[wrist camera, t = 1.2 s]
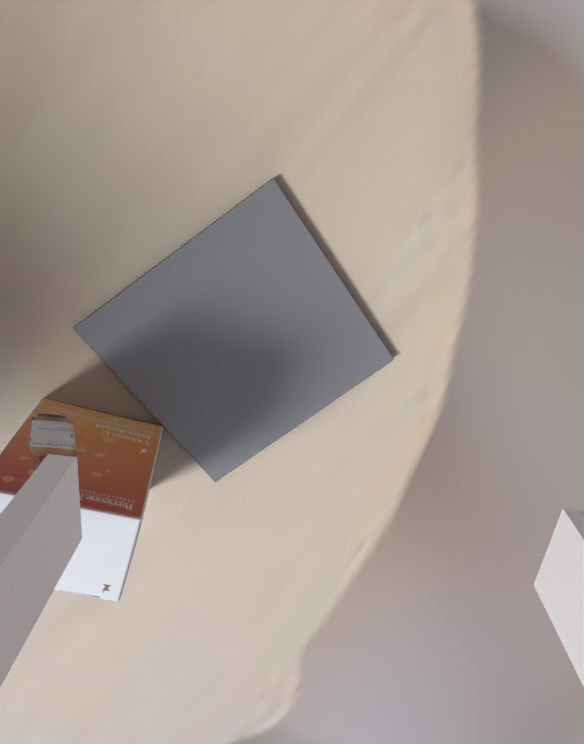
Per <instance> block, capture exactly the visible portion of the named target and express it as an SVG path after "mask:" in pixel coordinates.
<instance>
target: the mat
mask: <svg viewBox="0 0 584 744" xmlns="http://www.w3.org/2000/svg"><path fill="white" fill-rule="evenodd" d="M73 329H74V330H75V331H76V332H77V333H78V334H79V335H80V336H81V337H82V338H83V339H84V341H85V342H86V343H87V344H88V345H89V346H90V347H91V348H92V349H93V350H94V351H95V352H96V354H97V355H98V356H99V357H100V358H101V359H102V360H103V361H104V362H105V363H106V364H107V365H108V367H109V368H110V369H111V370H112V371H113V372H114V373H115V374H116V375H117V376H118V377H119V378H120V380H121V381H122V382H123V383H124V384H125V385H126V386H127V387H128V388H129V389H130V390H131V391H132V393H133V394H134V395H135V396H136V397H137V398H138V399H139V400H140V401H141V402H142V403H143V404H144V406H145V407H146V408H147V409H148V410H149V411H150V412H151V413H152V414H153V415H154V416H155V417H156V419H157V420H158V421H159V422H160V423H161V424H162V425H163V426H164V427H165V428H166V429H167V430H168V432H169V433H170V434H171V435H172V436H173V437H174V438H175V439H176V440H177V441H178V442H179V443H180V445H181V446H182V447H183V448H184V449H185V450H186V451H187V452H188V453H189V454H190V455H191V456H192V458H193V459H194V460H195V461H196V462H197V463H198V464H199V465H200V466H201V467H202V468H203V469H204V471H205V472H206V473H207V474H208V475H209V476H210V477H211V478H212V479H213V480H214V481H215V482H216V481H218V480H219V479H221V478H222V477H224V476H225V475H227V474H228V473H229V472H231V471H232V470H234V469H235V468H237V467H238V466H240V465H241V464H243V463H244V462H246V461H247V460H248V459H250V458H251V457H253V456H254V455H256V454H257V453H259V452H260V451H262V450H263V449H264V448H266V447H267V446H269V445H270V444H272V443H273V442H275V441H276V440H278V439H279V438H281V437H282V436H283V435H285V434H286V433H288V432H289V431H291V430H292V429H294V428H295V427H297V426H298V425H299V424H301V423H302V422H304V421H305V420H307V419H308V418H310V417H311V416H313V415H314V414H316V413H317V412H318V411H320V410H321V409H323V408H324V407H326V406H327V405H329V404H330V403H332V402H333V401H335V400H336V399H337V398H339V397H340V396H342V395H343V394H345V393H346V392H348V391H349V390H351V389H352V388H353V387H355V386H356V385H358V384H359V383H361V382H362V381H364V380H365V379H367V378H368V377H370V376H371V375H372V374H374V373H375V372H377V371H378V370H380V369H381V368H383V367H384V366H386V365H387V364H388V363H390V362H391V361H393V360H394V359H393V357H392V356H391V354H390V353H389V351H388V350H387V348H386V347H385V345H384V344H383V342H382V341H381V339H380V338H379V336H378V335H377V333H376V332H375V330H374V329H373V327H372V326H371V324H370V323H369V321H368V320H367V318H366V317H365V315H364V314H363V312H362V311H361V309H360V308H359V306H358V305H357V303H356V302H355V300H354V299H353V297H352V296H351V294H350V293H349V291H348V290H347V288H346V287H345V285H344V284H343V282H342V281H341V279H340V278H339V276H338V275H337V273H336V272H335V270H334V269H333V267H332V266H331V264H330V263H329V261H328V260H327V258H326V257H325V255H324V254H323V252H322V251H321V249H320V248H319V246H318V245H317V243H316V242H315V240H314V239H313V237H312V236H311V234H310V233H309V231H308V230H307V228H306V227H305V225H304V224H303V222H302V221H301V219H300V218H299V216H298V215H297V213H296V212H295V210H294V209H293V207H292V206H291V204H290V203H289V201H288V200H287V198H286V197H285V195H284V194H283V192H282V191H281V189H280V188H279V186H278V185H277V183H276V182H275V180H274V179H271V180H270V181H269V182H267V183H266V184H265V185H263V186H262V187H261V188H259V189H258V190H257V191H255V192H254V193H253V194H251V195H250V196H249V197H247V198H246V199H245V200H243V201H242V202H241V203H239V204H238V205H237V206H235V207H234V208H233V209H231V210H230V211H229V212H227V213H226V214H225V215H223V216H222V217H221V218H219V219H218V220H217V221H215V222H214V223H213V224H211V225H210V226H209V227H207V228H206V229H205V230H203V231H202V232H201V233H199V234H198V235H197V236H195V237H194V238H193V239H191V240H190V241H189V242H187V243H186V244H185V245H183V246H182V247H181V248H179V249H178V250H177V251H175V252H174V253H173V254H171V255H170V256H169V257H167V258H166V259H165V260H163V261H162V262H161V263H159V264H158V265H157V266H155V267H154V268H153V269H151V270H150V271H149V272H147V273H146V274H144V275H143V276H142V277H140V278H139V279H138V280H136V281H135V282H134V283H132V284H131V285H130V286H128V287H127V288H126V289H124V290H123V291H122V292H120V293H119V294H118V295H116V296H115V297H114V298H112V299H111V300H110V301H108V302H107V303H106V304H104V305H103V306H102V307H100V308H99V309H98V310H96V311H95V312H94V313H92V314H91V315H90V316H88V317H87V318H86V319H84V320H83V321H82V322H80V323H79V324H78V325H76V326H75V327H74V328H73Z"/></svg>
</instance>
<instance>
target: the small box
mask: <svg viewBox="0 0 584 744" xmlns="http://www.w3.org/2000/svg"><path fill="white" fill-rule="evenodd" d="M162 432H163V426H161V425H156V424H151V423H145V422H140V421H136V420H131V419H127V418H123V417H118V416H114V415H110V414H106V413H102V412H98V411H94V410H90V409H85V408H81V407H77V406H73V405H69V404H65V403H61V402H57V401H54V400H49V399H42V400H41V401H40V402H39V404H38V405H37V406H36V408H35V409H34V410H33V411H32V413H31V414H30V415H29V417H28V418H27V419H26V421H25V422H24V423H23V425H22V426H21V427H20V429H19V430H18V431H17V433H16V434H15V435H14V437H13V438H12V439H11V440H10V442H9V443H8V445H7V446H6V447H5V449H4V450H3V451H2V453H1V454H0V514H1V513H2V511H3V510H4V509H5V508H6V506H7V505H8V504H9V503H10V501H11V500H12V499H13V498H14V496H15V495H16V494H17V493H18V491H19V490H20V489H21V488H22V486H23V485H24V484H25V483H26V481H27V480H28V479H29V478H30V476H31V475H32V474H33V473H34V471H35V470H36V469H37V467H38V466H39V465H40V464H41V462H42V461H43V460H44V459H45V457H46V456H47V455H48V454H52V455H61V456H71V457H77V465H78V481H79V496H80V512H81V528H82V539H81V541H80V543H79V545H78V547H77V549H76V550H75V552H74V554H73V556H72V558H71V559H70V561H69V563H68V565H67V567H66V568H65V570H64V572H63V574H62V576H61V578H60V579H59V581H58V583H57V585H56V587H55V588H54V590H56V591H62V592H68V593H73V594H80V595H85V596H91V597H96V598H100V599H104V600H110V601H114V602H118V601H119V600H120V598H121V594H122V591H123V587H124V584H125V580H126V577H127V574H128V570H129V567H130V563H131V560H132V557H133V553H134V549H135V546H136V542H137V538H138V535H139V531H140V527H141V523H142V519H143V515H144V510H145V506H146V502H147V497H148V493H149V489H150V485H151V480H152V476H153V472H154V467H155V463H156V458H157V454H158V450H159V445H160V441H161V436H162Z"/></svg>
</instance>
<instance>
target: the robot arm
mask: <svg viewBox="0 0 584 744" xmlns="http://www.w3.org/2000/svg"><path fill="white" fill-rule="evenodd" d="M81 539H82V528H81V512H80V496H79V481H78V465H77V457H71V456H61V455H52V454H48V455H47V456H46V457H45V459H44V460H43V461H42V462H41V464H40V465H39V466H38V467H37V469H36V470H35V471H34V473H33V474H32V475H31V476H30V478H29V479H28V480H27V481H26V483H25V484H24V485H23V486H22V488H21V489H20V490H19V491H18V493H17V494H16V495H15V496H14V498H13V499H12V500H11V501H10V503H9V504H8V505H7V506H6V508H5V509H4V510H3V511H2V513H1V514H0V686H1V685H2V683H3V681H4V679H5V677H6V675H7V674H8V672H9V670H10V668H11V666H12V665H13V663H14V661H15V659H16V657H17V656H18V654H19V652H20V650H21V648H22V646H23V645H24V643H25V641H26V639H27V637H28V636H29V634H30V632H31V630H32V628H33V627H34V625H35V623H36V621H37V619H38V617H39V616H40V614H41V612H42V610H43V608H44V607H45V605H46V603H47V601H48V599H49V597H50V596H51V594H52V592H53V590H54V588H55V587H56V585H57V583H58V581H59V579H60V578H61V576H62V574H63V572H64V570H65V568H66V567H67V565H68V563H69V561H70V559H71V558H72V556H73V554H74V552H75V550H76V549H77V547H78V545H79V543H80V541H81ZM534 586H535V588H536V590H537V592H538V595H539V597H540V599H541V601H542V602H543V605H544V607H545V609H546V611H547V613H548V615H549V617H550V619H551V621H552V623H553V625H554V627H555V629H556V631H557V633H558V635H559V637H560V639H561V641H562V643H563V645H564V648H565V650H566V652H567V654H568V656H569V658H570V660H571V661H572V664H573V666H574V668H575V670H576V672H577V674H578V676H579V678H580V680H581V682H582V684H583V686H584V511H580V510H571V509H563V510H562V513H561V515H560V518H559V520H558V523H557V526H556V528H555V531H554V534H553V536H552V539H551V541H550V544H549V546H548V549H547V552H546V555H545V557H544V560H543V562H542V565H541V567H540V570H539V573H538V575H537V578H536V581H535V583H534Z"/></svg>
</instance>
